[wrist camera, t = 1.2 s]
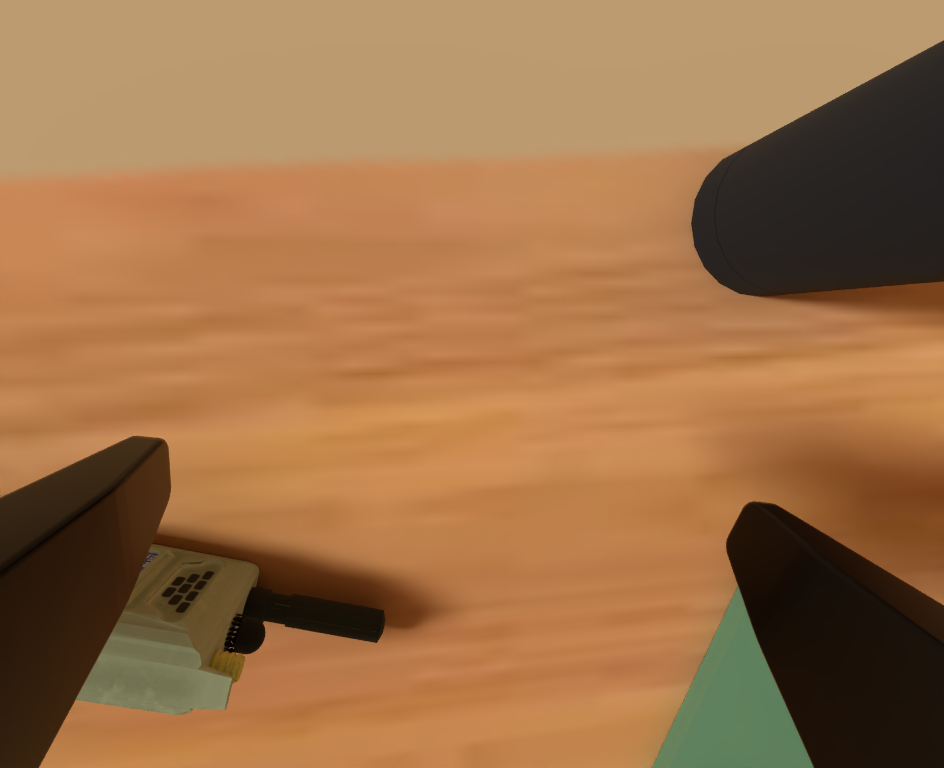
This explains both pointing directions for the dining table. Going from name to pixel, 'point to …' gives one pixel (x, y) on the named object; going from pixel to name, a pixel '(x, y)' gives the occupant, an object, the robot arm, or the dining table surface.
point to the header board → (733, 708)
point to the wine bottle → (835, 193)
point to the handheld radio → (202, 632)
